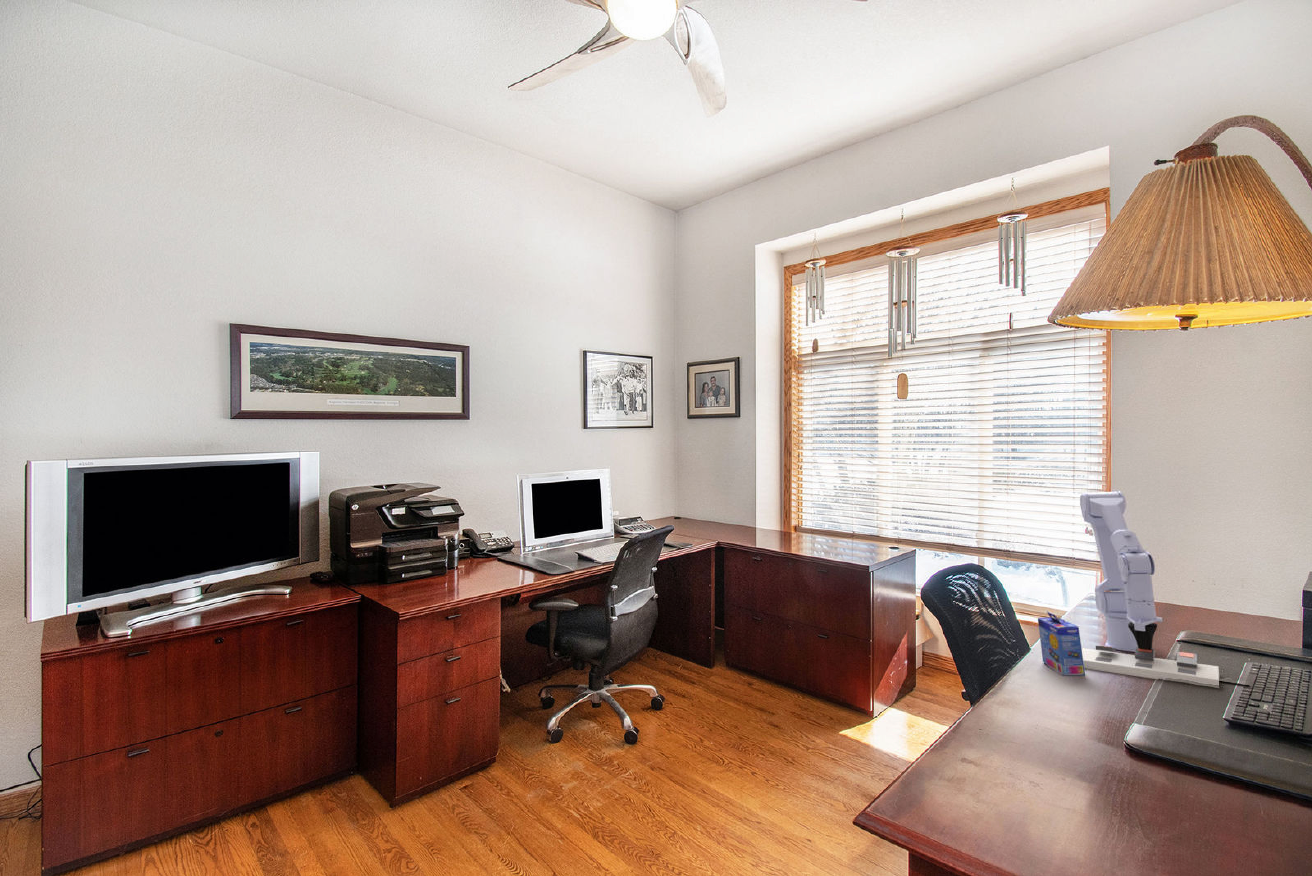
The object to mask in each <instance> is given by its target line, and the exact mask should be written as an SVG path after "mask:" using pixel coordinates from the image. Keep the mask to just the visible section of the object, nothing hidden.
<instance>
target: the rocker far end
mask: <svg viewBox="0 0 1312 876" xmlns="http://www.w3.org/2000/svg"><path fill="white" fill-rule="evenodd" d="M1095 650H1100V651H1108V652H1115V653H1117V649H1116V648H1113V647H1107V646H1105V645H1095Z"/></svg>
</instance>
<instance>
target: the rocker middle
mask: <svg viewBox="0 0 1312 876" xmlns="http://www.w3.org/2000/svg"><path fill="white" fill-rule="evenodd" d="M1134 655H1135V659H1139V660H1146V661H1153V662H1154V658H1155V649H1154V648H1152V650H1145V649H1139V648H1138V647H1136V651H1135V652H1134Z"/></svg>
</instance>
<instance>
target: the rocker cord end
mask: <svg viewBox="0 0 1312 876" xmlns="http://www.w3.org/2000/svg"><path fill="white" fill-rule="evenodd" d="M1176 661H1177V666H1183V667H1190V668H1197V664H1198V655H1197V653H1193V652H1182V651H1176Z"/></svg>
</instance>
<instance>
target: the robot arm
mask: <svg viewBox="0 0 1312 876" xmlns="http://www.w3.org/2000/svg"><path fill="white" fill-rule="evenodd" d="M1079 506H1080V511H1081V515H1082V518H1083V521H1084V522H1086V523H1088V524H1090V525H1091V528H1092V530H1093V534H1094V540H1095V544H1096V549H1097V553H1098V558H1099V562H1100V566H1101V570H1102V571H1101V572H1102V576H1103V581H1101V582H1099V583H1098V584H1097V585H1096V586H1095V588H1094V594H1095V596H1094V597H1095V598H1094V600H1095V605H1096V609H1097V610H1098V611H1099V612H1100V614H1103V615H1104V622H1105V623H1104V624H1105V632H1106V641H1105V644H1104V646H1107V647H1113V648H1116V651H1117V650H1120V651H1125V652H1126V651H1127V652H1132V653H1133V652H1134V653H1135V651H1136V647H1138V648H1139V649H1145V650H1152V649H1153V642H1154V635H1155V633H1156V631H1157V628H1158V624H1157V622H1160V623H1161V622H1163V617H1160V616H1156V615H1157V612H1156V606H1155V596H1154V588H1153V579H1152V576H1153V575H1154V574H1155V571H1156V566H1155V561H1154V558H1153V556H1152V554H1151V552H1148V551H1147V549H1143V547H1142V544H1141V543H1140V541H1139V539H1138V537H1137V534H1136V533H1134V532H1133V531H1132V530H1129V529H1128V527H1127V523H1126V520H1125V517H1124V514H1125V510H1126V508H1127V502H1126V497H1125V494H1123V492H1122V491H1120V490H1116V491H1102V492H1098V491H1097V492H1085V491H1084V492H1082V493H1081V494H1080V497H1079Z"/></svg>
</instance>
